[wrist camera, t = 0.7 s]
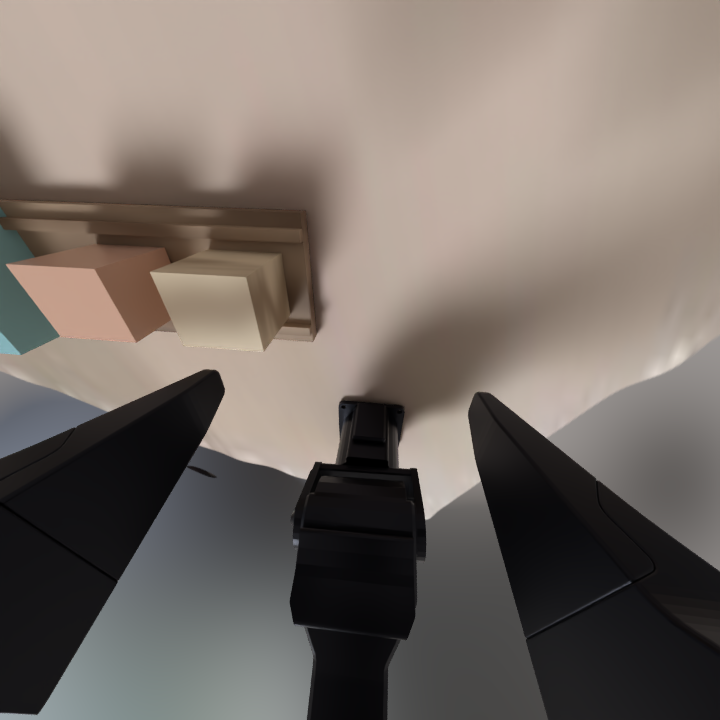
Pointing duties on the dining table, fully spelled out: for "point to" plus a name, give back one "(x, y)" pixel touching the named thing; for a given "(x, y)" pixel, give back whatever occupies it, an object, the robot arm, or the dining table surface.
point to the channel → (177, 239)
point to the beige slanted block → (225, 298)
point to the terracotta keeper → (97, 290)
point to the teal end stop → (18, 302)
